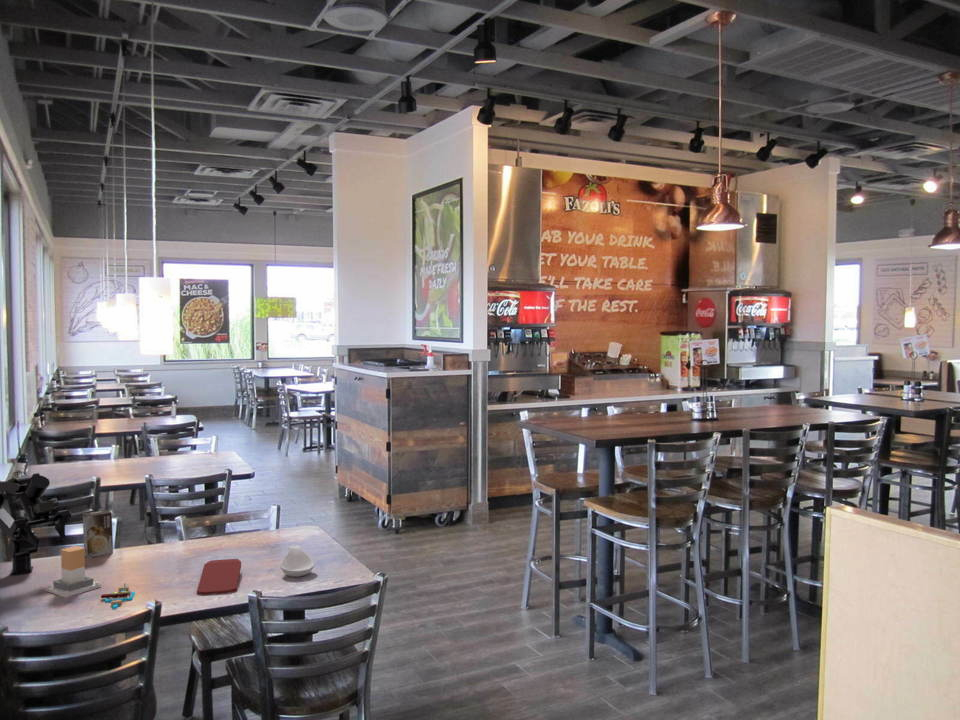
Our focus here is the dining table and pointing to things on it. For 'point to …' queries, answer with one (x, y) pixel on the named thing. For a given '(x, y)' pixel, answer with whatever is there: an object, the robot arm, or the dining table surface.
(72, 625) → the dining table surface
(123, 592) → the turquoise and red toy
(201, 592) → the red rounded slab
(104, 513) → the coffee box
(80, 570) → the orange and white block
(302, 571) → the spoon rest
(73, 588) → the socket plate
